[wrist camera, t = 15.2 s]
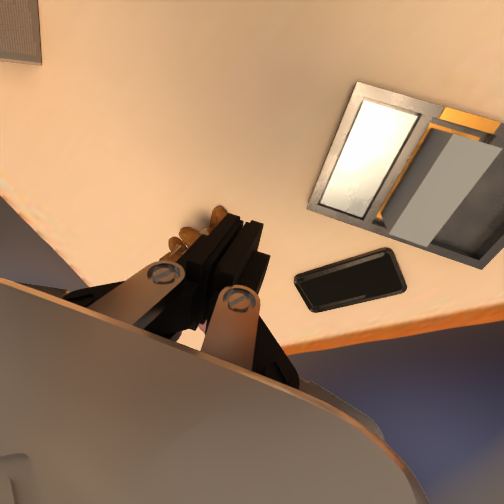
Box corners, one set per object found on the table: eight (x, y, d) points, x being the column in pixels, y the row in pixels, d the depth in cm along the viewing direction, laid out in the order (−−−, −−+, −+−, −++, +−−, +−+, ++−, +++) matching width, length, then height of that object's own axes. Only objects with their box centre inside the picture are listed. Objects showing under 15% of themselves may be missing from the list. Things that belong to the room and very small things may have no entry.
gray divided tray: (355, 83, 27) (357, 81, 25) (575, 146, 25) (600, 151, 22) (308, 202, 35) (306, 210, 32) (472, 259, 32) (482, 271, 30)
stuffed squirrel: (219, 199, 38) (173, 239, 27) (269, 271, 42) (246, 330, 31) (176, 227, 43) (123, 270, 32) (225, 289, 47) (191, 346, 36)
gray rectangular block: (431, 127, 26) (453, 133, 21) (470, 139, 26) (502, 148, 21) (380, 213, 32) (388, 233, 27) (412, 223, 31) (426, 247, 26)
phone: (291, 278, 41) (391, 247, 34) (292, 274, 42) (390, 243, 35) (311, 314, 43) (409, 292, 36) (312, 310, 44) (407, 287, 37)
